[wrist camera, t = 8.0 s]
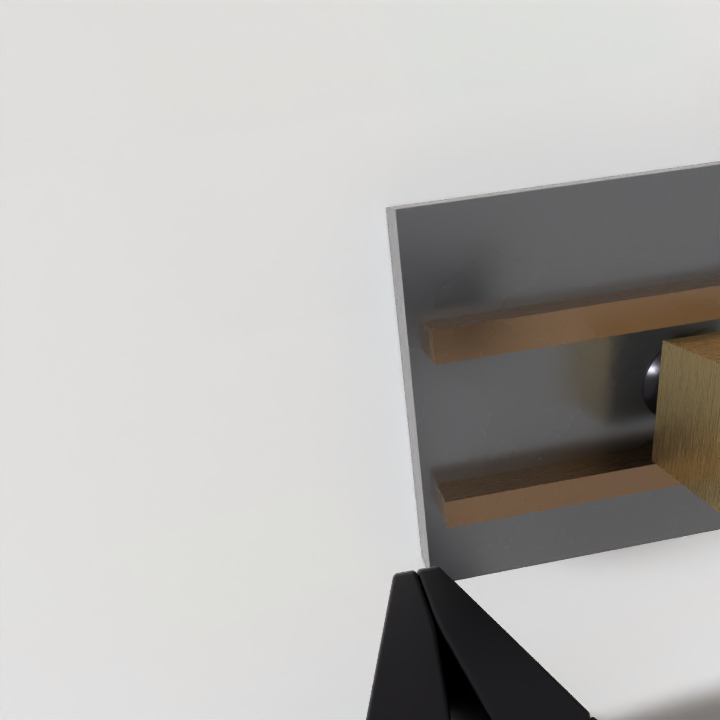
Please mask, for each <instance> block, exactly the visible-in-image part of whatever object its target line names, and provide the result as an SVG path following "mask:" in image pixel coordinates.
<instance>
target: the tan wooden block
mask: <svg viewBox="0 0 720 720" xmlns="http://www.w3.org/2000/svg"><path fill="white" fill-rule="evenodd" d="M652 462H654V463H655V464H656V465H658V466H659V467H660V468H662V469H663V470H664V471H665V472H667V473H668V474H669V475H671V476H672V477H673V478H675V479H676V480H677V481H679V482H680V483H681V484H682V485H684V486H685V487H686V488H688V489H689V490H690V491H692V492H693V493H694V494H695V495H697V496H698V497H699V498H701V499H702V500H703V501H705V502H706V503H707V504H709V505H710V506H711V507H712V508H714V509H715V510H716V511H718V512H719V513H720V331H717V332H711V333H705V334H699V335H693V336H687V337H681V338H675V339H668V340H663V344H662V354H661V365H660V376H659V386H658V397H657V408H656V418H655V429H654V440H653V450H652Z"/></svg>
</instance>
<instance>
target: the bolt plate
mask: <svg viewBox="0 0 720 720" xmlns="http://www.w3.org/2000/svg"><path fill="white" fill-rule="evenodd" d="M386 213H387V223H388V233H389V242H390V252H391V262H392V271H393V281H394V291H395V301H396V310H397V320H398V330H399V339H400V349H401V359H402V369H403V378H404V388H405V398H406V407H407V417H408V427H409V437H410V446H411V456H412V466H413V475H414V485H415V495H416V504H417V514H418V524H419V534H420V543H421V553H422V558H423V561H424V564H425V567H426V568H429V567H434V566H437V567H440V568H441V569H442V570H443V571H444V572H445V573H446V574H447V575H448V576H449V577H450V578H451V579H452V580H453V581H455V580H461V579H466V578H471V577H476V576H481V575H486V574H492V573H497V572H502V571H507V570H512V569H517V568H522V567H528V566H533V565H538V564H543V563H548V562H553V561H558V560H564V559H569V558H574V557H579V556H584V555H589V554H595V553H600V552H605V551H610V550H615V549H620V548H625V547H631V546H636V545H641V544H646V543H651V542H656V541H661V540H667V539H672V538H677V537H682V536H687V535H692V534H698V533H703V532H708V531H713V530H718V529H720V513H719V512H718V511H716V510H715V509H714V508H712V507H711V506H710V505H709V504H707V503H706V502H705V501H703V500H702V499H701V498H699V497H698V496H697V495H695V494H694V493H693V492H692V491H690V490H689V489H688V488H686V487H685V486H684V485H682V484H681V483H680V482H679V481H677V480H676V479H675V478H673V477H672V476H671V475H669V474H668V473H667V472H665V471H664V470H663V469H662V468H660V467H659V466H658V465H656V464H655V463H654V462H652V450H653V440H654V429H655V418H656V408H657V397H658V386H659V376H660V365H661V354H662V344H663V340H668V339H675V338H681V337H687V336H693V335H699V334H705V333H711V332H717V331H720V161H719V162H712V163H705V164H698V165H690V166H683V167H676V168H669V169H661V170H654V171H647V172H640V173H633V174H625V175H618V176H611V177H604V178H597V179H589V180H582V181H575V182H568V183H560V184H553V185H546V186H539V187H532V188H524V189H517V190H510V191H503V192H496V193H488V194H481V195H474V196H467V197H459V198H452V199H445V200H438V201H431V202H423V203H416V204H409V205H402V206H394V207H387V208H386Z"/></svg>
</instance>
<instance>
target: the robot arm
mask: <svg viewBox="0 0 720 720" xmlns="http://www.w3.org/2000/svg"><path fill="white" fill-rule="evenodd" d="M366 720H597V719H596V718H595V717H591V718H590V713H589V712H588V711H587V710H586V709H585V708H584V707H583V706H582V705H581V704H580V703H579V702H578V701H577V700H576V699H575V698H574V697H573V696H572V695H571V694H570V693H569V692H568V691H567V690H566V689H565V688H564V687H563V686H562V685H561V684H560V683H559V682H558V681H556V680H555V679H554V678H553V677H552V676H551V675H550V674H549V673H548V672H547V671H546V670H545V669H544V668H543V667H542V666H541V665H540V664H539V663H538V662H537V661H536V660H535V659H534V658H533V657H532V656H531V655H530V654H529V653H528V652H527V651H526V650H525V649H524V648H522V647H521V646H520V645H519V644H518V643H517V642H516V641H515V640H514V639H513V638H512V637H511V636H510V635H509V634H508V633H507V632H506V631H505V630H504V629H503V628H502V627H501V626H500V625H499V624H498V623H497V622H496V621H495V620H494V619H493V618H492V617H491V616H490V615H488V614H487V613H486V612H485V611H484V610H483V609H482V608H481V607H480V606H479V605H478V604H477V603H476V602H475V601H474V600H473V599H472V598H471V597H470V596H469V595H468V594H467V593H466V592H465V591H464V590H463V589H462V588H461V587H460V586H459V585H458V584H457V583H456V582H455V581H453V580H452V579H451V578H450V577H449V576H448V575H447V574H446V573H445V572H444V571H443V570H442V569H441V568H440V567H437V566H434V567H429V568H423V569H419V570H418V571H417V573H416V572H415V571H407V572H401V573H396V574H395V575H394V576H393V580H392V585H391V591H390V596H389V601H388V606H387V612H386V617H385V622H384V628H383V633H382V638H381V644H380V649H379V654H378V659H377V665H376V670H375V675H374V681H373V686H372V691H371V697H370V702H369V707H368V712H367V718H366Z"/></svg>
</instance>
